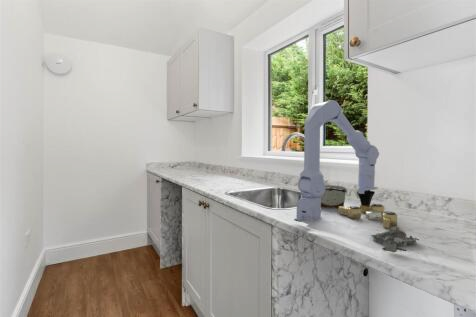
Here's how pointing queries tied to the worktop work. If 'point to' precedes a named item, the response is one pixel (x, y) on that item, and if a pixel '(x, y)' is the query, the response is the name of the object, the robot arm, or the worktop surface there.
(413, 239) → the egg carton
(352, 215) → the knob left
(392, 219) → the knob right
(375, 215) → the tribrach plate
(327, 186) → the food container
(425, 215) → the worktop surface
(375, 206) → the knob back
